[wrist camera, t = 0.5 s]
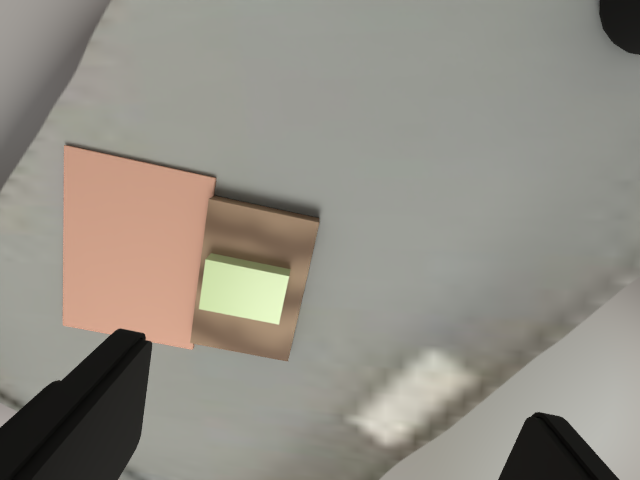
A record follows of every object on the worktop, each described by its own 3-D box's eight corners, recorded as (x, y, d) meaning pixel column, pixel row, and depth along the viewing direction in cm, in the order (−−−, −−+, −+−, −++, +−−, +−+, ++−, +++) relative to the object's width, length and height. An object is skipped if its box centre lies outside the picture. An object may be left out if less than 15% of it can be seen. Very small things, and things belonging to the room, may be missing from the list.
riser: (214, 195, 40) (208, 198, 38) (319, 218, 41) (319, 222, 39) (195, 333, 45) (190, 342, 43) (289, 351, 46) (287, 361, 44)
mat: (67, 145, 38) (64, 145, 38) (216, 177, 39) (215, 178, 39) (65, 323, 45) (62, 325, 44) (193, 347, 46) (192, 349, 45)
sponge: (210, 253, 40) (205, 259, 38) (290, 269, 40) (289, 276, 39) (204, 300, 42) (198, 309, 40) (280, 315, 42) (278, 324, 40)
